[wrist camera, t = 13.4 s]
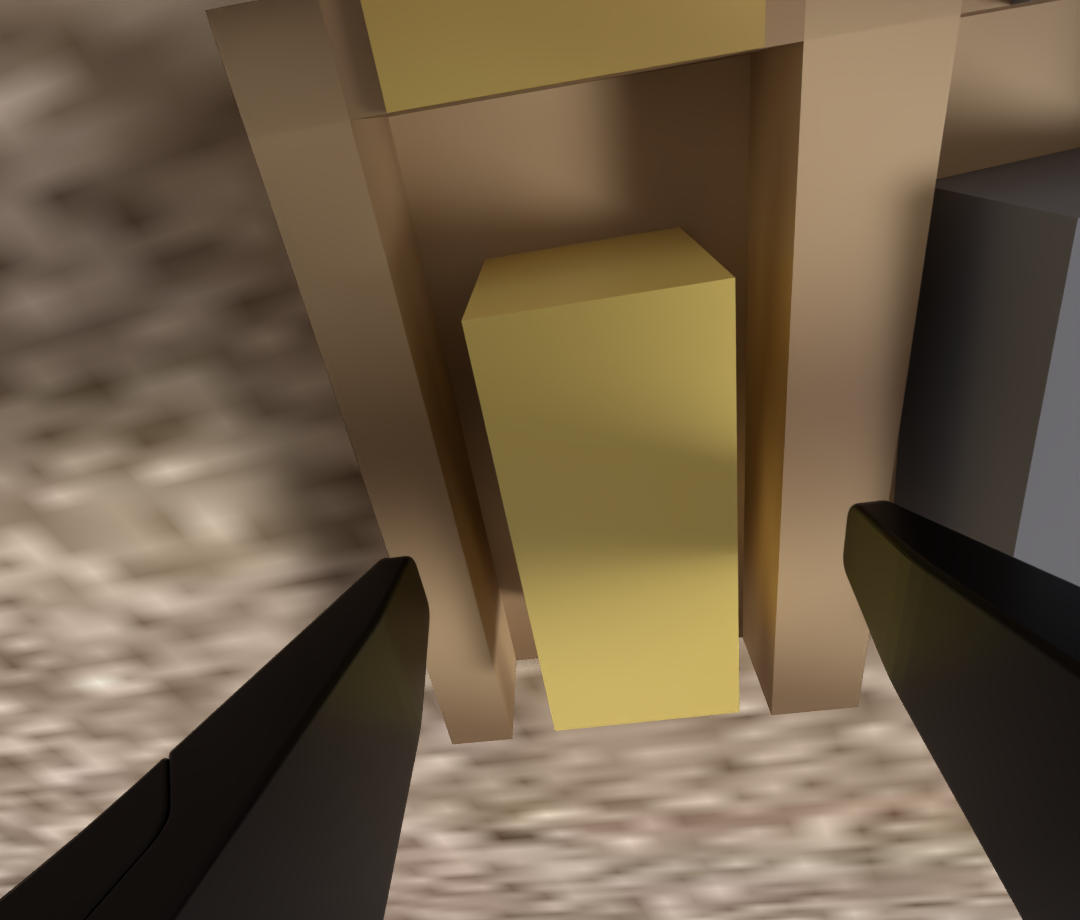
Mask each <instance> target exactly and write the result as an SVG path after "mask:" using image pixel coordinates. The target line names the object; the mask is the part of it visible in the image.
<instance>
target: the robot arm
mask: <svg viewBox="0 0 1080 920" xmlns="http://www.w3.org/2000/svg"><path fill="white" fill-rule="evenodd" d="M843 564H844V569H845V573H846V575H847V578H848V580H849V583H850V585H851V588H852V590H853V592H854V595H855V597H856V600H857V602H858V605H859V607H860V609H861V612H862V614H863V617H864V619H865V621H866V624H867V626H868V629H869V631H870V634H871V636H872V638H873V641H874V643H875V646H876V648H877V650H878V653H879V655H880V658H881V660H882V662H883V665H884V667H885V669H886V671H887V674H888V676H889V678H890V680H891V682H892V684H893V686H894V688H895V690H896V692H897V694H898V696H899V698H900V700H901V701H902V703H903V705H904V707H905V709H906V710H907V712H908V714H909V716H910V718H911V719H912V721H913V723H914V725H915V727H916V728H917V730H918V732H919V734H920V736H921V737H922V739H923V741H924V743H925V745H926V746H927V748H928V750H929V752H930V754H931V755H932V757H933V759H934V761H935V763H936V764H937V766H938V768H939V770H940V772H941V773H942V775H943V777H944V779H945V781H946V782H947V784H948V786H949V788H950V790H951V791H952V793H953V795H954V797H955V799H956V800H957V802H958V804H959V806H960V808H961V809H962V811H963V813H964V815H965V817H966V818H967V820H968V822H969V824H970V826H971V827H972V829H973V831H974V833H975V835H976V836H977V838H978V840H979V842H980V844H981V845H982V847H983V849H984V851H985V853H986V854H987V856H988V858H989V860H990V862H991V863H992V865H993V867H994V869H995V871H996V872H997V874H998V876H999V878H1000V880H1001V881H1002V883H1003V885H1004V887H1005V889H1006V890H1007V892H1008V894H1009V896H1010V898H1011V899H1012V901H1013V903H1014V905H1015V907H1016V908H1017V910H1018V912H1019V914H1020V916H1021V917H1022V919H1023V920H1080V586H1077V585H1075V584H1073V583H1071V582H1068V581H1066V580H1064V579H1062V578H1059V577H1057V576H1055V575H1053V574H1051V573H1048V572H1046V571H1044V570H1042V569H1039V568H1037V567H1035V566H1033V565H1030V564H1028V563H1026V562H1024V561H1021V560H1019V559H1017V558H1015V557H1012V556H1010V555H1008V554H1006V553H1004V552H1001V551H999V550H997V549H995V548H992V547H990V546H988V545H986V544H983V543H981V542H979V541H977V540H974V539H972V538H970V537H968V536H965V535H963V534H961V533H959V532H956V531H954V530H952V529H950V528H948V527H945V526H943V525H941V524H939V523H936V522H934V521H932V520H930V519H927V518H925V517H923V516H921V515H918V514H916V513H914V512H912V511H909V510H907V509H905V508H903V507H901V506H898V505H896V504H894V503H892V502H889V501H885V500H879V501H871V502H862V503H855V504H854V505H852V506H851V507H850V509H849V511H848V515H847V523H846V532H845V541H844V550H843ZM429 623H430V611H429V604H428V600H427V597H426V593H425V590H424V587H423V584H422V581H421V577H420V574H419V571H418V568H417V565H416V563H415V561H414V559H413V558H412V557H410V556H400V557H392V558H384V559H381V560H380V561H379V562H377V563H376V564H375V565H374V566H373V567H372V568H371V569H370V570H368V571H367V572H366V573H365V574H364V575H363V576H362V577H361V578H360V579H359V580H358V581H356V582H355V583H354V584H353V585H352V586H351V587H350V588H349V589H348V590H347V591H346V592H344V593H343V594H342V595H341V596H340V597H339V598H338V599H337V600H336V601H335V602H333V603H332V604H331V605H330V606H329V607H328V608H327V609H326V610H325V611H324V612H323V613H321V614H320V615H319V616H318V617H317V618H316V619H315V620H314V621H313V622H312V623H311V624H309V625H308V626H307V627H306V628H305V629H304V630H303V631H302V632H301V633H300V634H299V635H297V636H296V637H295V638H294V639H293V640H292V641H291V642H290V643H289V644H288V645H287V646H285V647H284V648H283V649H282V650H281V651H280V652H279V653H278V654H277V655H276V656H275V657H273V658H272V659H271V660H270V661H269V662H268V663H267V664H266V665H265V666H264V667H262V668H261V669H260V670H259V671H258V672H257V673H256V674H255V675H254V676H253V677H252V678H250V679H249V680H248V681H247V682H246V683H245V684H244V685H243V686H242V687H241V688H240V689H238V690H237V691H236V692H235V693H234V694H233V695H232V696H231V697H230V698H229V699H228V700H226V701H225V702H224V703H223V704H222V705H221V706H220V707H219V708H218V709H217V710H216V711H214V712H213V713H212V714H211V715H210V716H209V717H208V718H207V719H206V720H205V721H203V722H202V723H201V724H200V725H199V726H198V727H197V728H196V729H195V730H194V731H193V732H191V733H190V734H189V735H188V736H187V737H186V738H185V739H184V740H183V741H182V742H180V743H179V744H178V745H177V746H176V747H175V748H174V749H173V750H172V751H171V752H170V753H169V759H168V758H164V759H162V760H161V761H160V762H158V763H157V764H156V765H155V766H154V767H153V768H152V769H151V770H150V771H149V772H147V773H146V774H145V775H144V776H143V777H142V778H141V779H140V780H139V781H138V782H137V783H135V784H134V785H133V786H132V787H131V788H130V789H129V790H128V791H127V792H125V793H124V794H123V795H122V796H121V797H120V798H119V799H118V800H116V801H115V802H114V803H113V804H112V805H111V806H110V807H108V808H107V809H106V810H105V811H104V812H103V813H102V814H101V815H99V816H98V817H97V818H96V819H95V820H94V821H93V822H92V823H90V824H89V825H88V826H87V827H86V828H85V829H84V830H83V831H81V832H80V833H79V834H78V835H77V836H75V837H74V838H73V839H72V840H71V841H69V842H68V843H67V844H66V845H65V846H63V847H62V848H61V849H60V850H59V851H57V852H56V853H55V854H54V855H53V856H51V857H50V858H49V859H48V860H47V861H46V862H44V863H43V864H42V865H41V866H40V867H38V868H37V869H36V870H35V871H34V872H32V873H31V874H30V875H29V876H28V877H26V878H25V879H24V880H23V881H22V882H20V883H19V884H18V885H17V886H15V887H14V888H13V889H12V890H11V891H9V892H8V893H7V894H6V895H4V896H3V897H2V898H1V899H0V920H383V919H384V914H385V909H386V904H387V899H388V894H389V889H390V884H391V879H392V873H393V868H394V863H395V858H396V853H397V848H398V843H399V838H400V833H401V828H402V822H403V817H404V812H405V807H406V802H407V797H408V792H409V787H410V782H411V777H412V772H413V766H414V761H415V756H416V751H417V746H418V741H419V735H420V729H421V721H422V711H423V700H424V687H425V674H426V661H427V649H428V636H429Z"/></svg>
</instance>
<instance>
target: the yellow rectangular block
mask: <svg viewBox="0 0 1080 920" xmlns="http://www.w3.org/2000/svg"><path fill="white" fill-rule="evenodd" d="M461 322H462V326H463V330H464V335H465V339H466V343H467V348H468V352H469V356H470V361H471V365H472V370H473V374H474V378H475V383H476V387H477V391H478V396H479V400H480V405H481V409H482V413H483V418H484V422H485V426H486V431H487V435H488V440H489V444H490V448H491V453H492V457H493V461H494V466H495V470H496V474H497V479H498V483H499V488H500V492H501V496H502V501H503V505H504V509H505V514H506V518H507V523H508V527H509V531H510V536H511V540H512V544H513V549H514V553H515V558H516V562H517V566H518V571H519V575H520V579H521V584H522V588H523V592H524V597H525V601H526V606H527V610H528V614H529V619H530V623H531V627H532V632H533V636H534V641H535V645H536V649H537V654H538V658H539V662H540V667H541V671H542V676H543V680H544V684H545V689H546V693H547V697H548V702H549V706H550V710H551V715H552V719H553V724H554V728H555V731H558V730H567V729H577V728H587V727H597V726H607V725H617V724H627V723H637V722H647V721H657V720H666V719H676V718H686V717H696V716H706V715H716V714H726V713H736V712H739V627H738V519H737V411H736V303H735V277H734V276H733V275H732V274H731V273H730V272H729V271H728V270H726V269H725V268H724V267H723V266H722V265H721V264H720V263H719V262H718V261H717V260H715V259H714V258H713V257H712V256H711V255H710V254H709V253H708V252H707V251H706V250H704V249H703V248H702V247H701V246H700V245H699V244H698V243H697V242H696V241H695V240H693V239H692V238H691V237H690V236H689V235H688V234H687V233H686V232H685V231H684V230H682V229H681V228H680V227H675V228H669V229H663V230H657V231H651V232H645V233H639V234H633V235H627V236H621V237H615V238H609V239H603V240H597V241H591V242H585V243H579V244H573V245H567V246H561V247H555V248H549V249H543V250H537V251H531V252H525V253H519V254H513V255H507V256H501V257H495V258H489V259H485V261H484V263H483V266H482V269H481V271H480V274H479V276H478V279H477V282H476V284H475V287H474V290H473V292H472V295H471V297H470V300H469V303H468V305H467V308H466V310H465V313H464V316H463V318H462V321H461Z"/></svg>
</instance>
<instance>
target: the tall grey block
mask: <svg viewBox="0 0 1080 920" xmlns="http://www.w3.org/2000/svg"><path fill="white" fill-rule="evenodd" d="M894 504H896V505H898V506H901V507H903V508H905V509H907V510H909V511H912V512H914V513H916V514H918V515H921V516H923V517H925V518H927V519H930V520H932V521H934V522H936V523H939V524H941V525H943V526H945V527H948V528H950V529H952V530H954V531H956V532H959V533H961V534H963V535H965V536H968V537H970V538H972V539H974V540H977V541H979V542H981V543H983V544H986V545H988V546H990V547H992V548H995V549H997V550H999V551H1001V552H1004V553H1006V554H1008V555H1010V556H1012V557H1015V558H1017V559H1019V560H1021V561H1024V562H1026V563H1028V564H1030V565H1033V566H1035V567H1037V568H1039V569H1042V570H1044V571H1046V572H1048V573H1051V574H1053V575H1055V576H1057V577H1059V578H1062V579H1064V580H1066V581H1068V582H1071V583H1073V584H1075V585H1077V586H1080V147H1079V148H1074V149H1070V150H1065V151H1061V152H1056V153H1052V154H1047V155H1043V156H1038V157H1034V158H1029V159H1025V160H1020V161H1016V162H1011V163H1007V164H1002V165H998V166H993V167H989V168H984V169H980V170H975V171H971V172H966V173H962V174H957V175H953V176H948V177H944V178H939V179H936V184H935V191H934V198H933V204H932V211H931V218H930V225H929V232H928V238H927V245H926V252H925V259H924V265H923V272H922V279H921V286H920V292H919V299H918V306H917V313H916V319H915V326H914V333H913V340H912V347H911V353H910V360H909V367H908V374H907V380H906V387H905V394H904V401H903V407H902V414H901V421H900V428H899V440H898V454H897V468H896V483H895V497H894Z"/></svg>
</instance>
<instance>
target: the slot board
mask: <svg viewBox="0 0 1080 920" xmlns="http://www.w3.org/2000/svg"><path fill="white" fill-rule="evenodd" d="M205 11H206V14H207V17H208V20H209V23H210V26H211V29H212V32H213V35H214V38H215V41H216V44H217V47H218V50H219V53H220V56H221V59H222V62H223V65H224V68H225V71H226V74H227V77H228V80H229V82H230V85H231V88H232V91H233V94H234V97H235V100H236V103H237V106H238V109H239V112H240V115H241V118H242V121H243V124H244V127H245V130H246V133H247V136H248V139H249V142H250V145H251V148H252V151H253V154H254V157H255V160H256V163H257V166H258V169H259V172H260V174H261V177H262V180H263V183H264V186H265V189H266V192H267V195H268V198H269V201H270V204H271V207H272V210H273V213H274V216H275V219H276V222H277V225H278V228H279V231H280V234H281V237H282V240H283V243H284V246H285V249H286V252H287V255H288V258H289V261H290V264H291V267H292V269H293V272H294V275H295V278H296V281H297V284H298V287H299V290H300V293H301V296H302V299H303V302H304V305H305V308H306V311H307V314H308V317H309V320H310V323H311V326H312V329H313V332H314V335H315V338H316V341H317V344H318V347H319V350H320V353H321V356H322V359H323V361H324V364H325V367H326V370H327V373H328V376H329V379H330V382H331V385H332V388H333V391H334V394H335V397H336V400H337V403H338V406H339V409H340V412H341V415H342V418H343V421H344V424H345V427H346V430H347V433H348V436H349V439H350V442H351V445H352V448H353V451H354V454H355V456H356V459H357V462H358V465H359V468H360V471H361V474H362V477H363V480H364V483H365V486H366V489H367V492H368V495H369V498H370V501H371V504H372V507H373V510H374V513H375V516H376V519H377V522H378V525H379V528H380V531H381V534H382V537H383V540H384V543H385V546H386V548H387V551H388V554H389V557H390V558H392V557H400V556H410V557H412V558H413V559H414V561H415V563H416V565H417V568H418V571H419V574H420V577H421V581H422V584H423V587H424V590H425V593H426V597H427V600H428V604H429V611H430V623H429V636H428V649H427V661H426V667H427V670H428V673H429V676H430V679H431V682H432V685H433V688H434V691H435V694H436V697H437V700H438V703H439V706H440V709H441V712H442V715H443V718H444V721H445V724H446V727H447V730H448V733H449V735H450V738H451V741H452V744H461V743H472V742H483V741H494V740H505V739H512V734H513V715H514V695H515V676H516V660H524V659H534V658H538V654H537V649H536V645H535V641H534V636H533V632H532V627H531V623H530V619H529V614H528V610H527V606H526V601H525V597H524V592H523V588H522V584H521V579H520V575H519V571H518V566H517V562H516V558H515V553H514V549H513V544H512V540H511V536H510V531H509V527H508V523H507V518H506V514H505V509H504V505H503V501H502V496H501V492H500V488H499V483H498V479H497V474H496V470H495V466H494V461H493V457H492V453H491V448H490V444H489V440H488V435H487V431H486V426H485V422H484V418H483V413H482V409H481V405H480V400H479V396H478V391H477V387H476V383H475V378H474V374H473V370H472V365H471V361H470V356H469V352H468V348H467V343H466V339H465V335H464V330H463V326H462V322H461V321H462V318H463V316H464V313H465V310H466V308H467V305H468V303H469V300H470V297H471V295H472V292H473V290H474V287H475V284H476V282H477V279H478V276H479V274H480V271H481V269H482V266H483V263H484V261H485V259H489V258H495V257H501V256H507V255H513V254H519V253H525V252H531V251H537V250H543V249H549V248H555V247H561V246H567V245H573V244H579V243H585V242H591V241H597V240H603V239H609V238H615V237H621V236H627V235H633V234H639V233H645V232H651V231H657V230H663V229H669V228H675V227H680V228H681V229H682V230H684V231H685V232H686V233H687V234H688V235H689V236H690V237H691V238H692V239H693V240H695V241H696V242H697V243H698V244H699V245H700V246H701V247H702V248H703V249H704V250H706V251H707V252H708V253H709V254H710V255H711V256H712V257H713V258H714V259H715V260H717V261H718V262H719V263H720V264H721V265H722V266H723V267H724V268H725V269H726V270H728V271H729V272H730V273H731V274H732V275H733V276H734V277H735V303H736V411H737V519H738V627H739V638H740V637H743V639H744V642H745V645H746V647H747V650H748V653H749V655H750V658H751V661H752V664H753V666H754V669H755V672H756V674H757V677H758V680H759V682H760V685H761V688H762V690H763V693H764V696H765V699H766V701H767V704H768V707H769V709H770V712H771V715H777V714H788V713H799V712H809V711H820V710H831V709H842V708H853V707H858V705H859V698H860V692H861V685H862V678H863V671H864V665H865V658H866V651H867V644H868V637H869V629H868V626H867V624H866V621H865V619H864V617H863V614H862V612H861V609H860V607H859V605H858V602H857V600H856V597H855V595H854V592H853V590H852V588H851V585H850V583H849V580H848V578H847V575H846V573H845V569H844V564H843V550H844V541H845V532H846V523H847V515H848V511H849V509H850V507H851V506H852V505H854V504H855V503H862V502H871V501H879V500H885V501H889V502H892V503H894V497H895V483H896V468H897V454H898V440H899V428H900V421H901V414H902V407H903V401H904V394H905V387H906V380H907V374H908V367H909V360H910V353H911V347H912V340H913V333H914V326H915V319H916V313H917V306H918V299H919V292H920V286H921V279H922V272H923V265H924V259H925V252H926V245H927V238H928V232H929V225H930V218H931V211H932V204H933V198H934V191H935V184H936V179H939V178H944V177H948V176H953V175H957V174H962V173H966V172H971V171H975V170H980V169H984V168H989V167H993V166H998V165H1002V164H1007V163H1011V162H1016V161H1020V160H1025V159H1029V158H1034V157H1038V156H1043V155H1047V154H1052V153H1056V152H1061V151H1065V150H1070V149H1074V148H1079V147H1080V0H257V1H252V2H247V3H241V4H236V5H231V6H226V7H220V8H215V9H210V10H205Z"/></svg>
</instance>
